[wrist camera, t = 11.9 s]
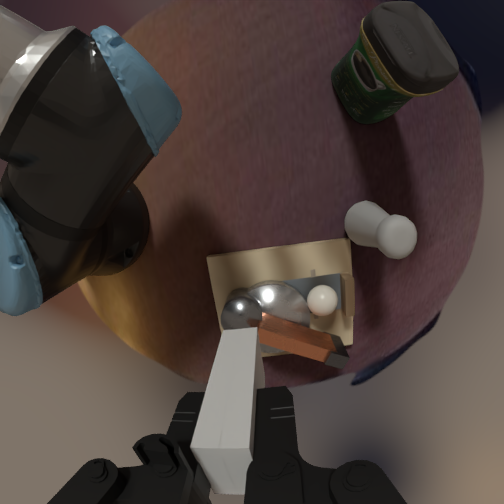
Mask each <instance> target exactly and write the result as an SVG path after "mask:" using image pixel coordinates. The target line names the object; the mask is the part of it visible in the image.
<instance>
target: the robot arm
mask: <svg viewBox="0 0 504 504" xmlns="http://www.w3.org/2000/svg"><path fill="white" fill-rule="evenodd" d="M90 34H91V36H88V35H86V34H85V33H83V32H81V31H80V30H79V29H77V28H76V27H74V26H71V27H67V28H63V29H59V30H55V31H49V32H45V31H44V30H42V29H40V28H39V27H37V26H35V25H34V24H32V23H31V22H29V21H27V20H25V19H24V18H22V17H20V16H19V15H17V14H15V13H13V12H12V11H10V10H8V9H6V8H4V7H2V6H1V5H0V158H1V159H2V160H4V161H6V162H8V165H7V167H6V169H5V172H4V174H3V176H2V178H1V181H0V311H1V312H3V313H7V314H9V315H11V316H18V315H22V314H24V313H26V312H28V311H30V310H33V309H37V308H39V307H40V305H41V304H42V303H44V302H46V301H47V300H49V299H50V298H52V297H54V296H55V295H57V294H58V293H60V292H62V291H63V290H65V289H66V288H68V287H70V286H72V285H73V284H75V283H77V282H78V281H80V280H82V279H83V278H85V277H86V276H88V275H94V276H107V275H112V274H116V273H118V272H120V271H122V270H124V269H125V268H127V267H129V266H130V265H131V264H133V263H134V262H135V261H136V260H137V259H138V257H139V256H140V255H141V253H142V251H143V249H144V247H145V245H146V242H147V238H148V232H149V216H148V210H147V206H146V203H145V201H144V198H143V196H142V194H141V193H140V191H139V190H138V188H137V187H136V186H135V185H134V183H133V182H134V181H135V180H136V178H137V177H138V176H139V174H140V173H141V172H142V171H143V169H144V168H145V167H146V166H147V164H148V163H149V162H150V161H151V159H152V158H153V157H154V156H155V157H156V156H157V155H158V153H159V149H160V147H161V146H162V145H163V143H164V142H165V141H166V139H167V138H168V137H169V136H170V134H171V133H172V132H173V131H174V129H175V128H176V127H177V126H178V124H179V122H180V120H181V116H182V109H181V105H180V102H179V100H178V98H177V97H176V95H175V94H174V93H173V91H172V90H171V88H170V87H169V86H168V85H167V84H166V82H165V81H164V80H163V79H162V77H161V76H160V75H159V74H158V73H157V72H156V71H155V69H154V68H153V67H152V66H151V65H150V64H149V63H148V62H147V61H146V60H145V59H144V58H143V57H142V56H141V54H140V53H139V52H138V51H137V50H135V49H134V48H133V47H132V46H131V45H130V44H128V43H126V41H125V40H124V39H123V38H121V37H120V36H119V35H118V33H117V32H115V31H114V30H113V29H111V28H110V27H108V26H100V27H99V28H97V29H95V30H93V31H92V32H91V33H90ZM133 450H134V451H135V453H136V454H137V456H138V457H139V459H140V460H141V462H142V463H143V464H144V465H141V466H135V467H123V468H117V466H116V465H115V464H114V463H113V462H111V461H110V460H107V459H103V458H101V459H100V458H98V459H93V460H90V461H88V462H87V463H86V464H85V465H83V466H82V467H81V468H80V469H79V471H77V473H76V474H75V475H74V476H73V477H72V478H71V479H70V480H69V481H68V482H67V483H66V484H65V485H64V486H63V488H61V490H60V491H59V492H58V493H57V494H56V495H55V496H54V497H53V498H52V499H51V500H50V501H49V502H48V503H47V504H212V503H211V501H210V499H209V492H210V488H212V490H213V492H214V493H215V494H245V497H244V504H407V503H406V502H405V500H404V499H403V498H402V496H401V495H400V493H399V492H398V491H397V489H396V488H395V487H394V485H393V484H392V482H391V481H390V480H389V478H388V477H387V476H386V474H385V473H384V472H383V470H382V469H381V468H380V467H379V466H378V465H376V464H375V463H373V462H370V461H367V460H355V461H351V462H347V463H345V464H344V465H341V466H340V467H338V468H337V469H330V468H321V467H316V466H313V465H311V464H309V463H307V462H306V461H304V460H303V459H302V457H301V456H300V454H299V451H298V444H297V434H296V424H295V414H294V405H293V395H292V394H291V392H290V391H289V390H288V389H287V387H286V386H281V387H271V388H265V374H264V367H263V361H262V355H261V348H260V342H259V335H258V329H257V327H253V328H243V329H233V330H223V332H222V336H221V339H220V343H219V346H218V350H217V353H216V357H215V360H214V364H213V367H212V371H211V375H210V378H209V382H208V385H207V389H206V392H187V393H186V394H185V396H184V397H183V398H182V399H181V400H180V401H179V403H178V405H177V408H176V410H175V414H174V415H173V418H172V422H171V423H170V426H169V429H168V431H167V434H166V435H165V434H151V435H148V436H145V437H143V438H141V439H140V440H138V441H137V442H136V443H135V445H134V446H133Z"/></svg>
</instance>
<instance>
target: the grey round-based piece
mask: <svg viewBox="0 0 504 504" xmlns="http://www.w3.org/2000/svg"><path fill="white" fill-rule="evenodd" d="M220 319H221V325H222V327H223V329H224V330H233V329H243V328H253V327H257V329H258V335H259V342H260V348H261V352H264V353H279V352H283V351H287V352H291V353H294V354H297V355H301V356H304V357H307V358H311V359H314V360H318V361H322V362H324V364H325V365H329V366H332V367H336V368H340V369H343V368H344V366H345V365H346V363H347V361H348V360H349V355H348V353H347V351H346V349H345V346H344V344H343V342H342V340H341V338H340V336H337V335H333V334H330V333H327V332H324V331H323V332H320V331H317V330H314V329H311V328H309V326H310V311H309V308H308V305H307V302H306V300H305V298H304V296H303V295H302V293H301V292H300V291H299V290H298V289H297V288H295V287H294V286H292V285H291V284H288V283H286V282H283V281H278V280H266V281H262V282H259V283H256V284H254V285H252V286H250V287H249V288H246V287H241V288H237V289H235V290H233V291H232V292H231V293H230V294H229V295H228V297H227V299H226V302H225V305H224V308H223V311H222V314H221V318H220Z"/></svg>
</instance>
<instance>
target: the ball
mask: <svg viewBox="0 0 504 504" xmlns="http://www.w3.org/2000/svg"><path fill="white" fill-rule="evenodd" d="M337 303H338V297H337V294H336V292H335V291H334V290H333V289H332V288H331V287H329V286H326V285H319V286H316V287H314V288H313V289H312V290H311V291H310V292H309V294H308V297H307V305H308V307H309V309H310V311H311V312H312V313H314V314H315V315H318V316H326V315H329V314H331V313H332V312H333V311H334V310H335V308H336V307H337Z"/></svg>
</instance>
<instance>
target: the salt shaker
mask: <svg viewBox="0 0 504 504" xmlns="http://www.w3.org/2000/svg"><path fill="white" fill-rule="evenodd" d="M345 231H346V233H347V235H348V237H349V238H350V239H351V240H352V241H353V242H354V243H356V244H357V245H362V246H369V247H377V248H379V250H380V251H381V252H382V253H383V254H384V255H386V256H387V257H388V258H394V259H402V258H405V257H407V256H408V255H409V254H410V253H411V252H412V251H413V250H414V247H415V245H416V243H417V231H416V228H415V226H414V224H413V223H412V222H411V221H410V220H409V219H408V218H406V217H404V216H400V215H395V214H394V215H391V216H390V215H389V214H388V213H387V212H385V211H384V210H383V209H382V208H381V207H379V206H378V205H377V204H376V203H374V202H370V201H362V202H359V203H356V204H355V205H353V206H352V207H351V208H350V209H349V210H348V212H347V215H346V217H345Z"/></svg>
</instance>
